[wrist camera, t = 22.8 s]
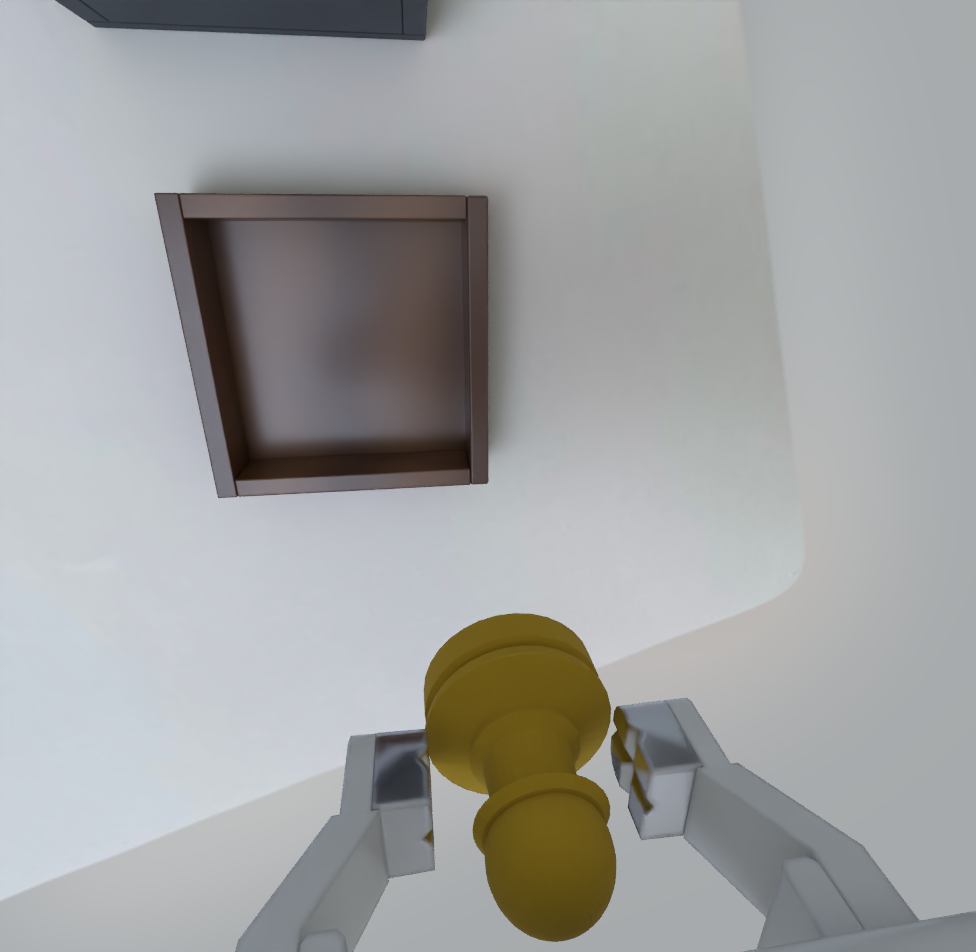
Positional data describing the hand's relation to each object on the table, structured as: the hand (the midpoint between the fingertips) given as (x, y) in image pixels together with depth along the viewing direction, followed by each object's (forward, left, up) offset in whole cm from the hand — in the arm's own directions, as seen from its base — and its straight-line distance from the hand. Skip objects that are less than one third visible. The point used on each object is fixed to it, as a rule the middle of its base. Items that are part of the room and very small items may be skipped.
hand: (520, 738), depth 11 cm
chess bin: (+5, -5, -18) cm, 19 cm away
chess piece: (0, 0, -2) cm, 2 cm away
